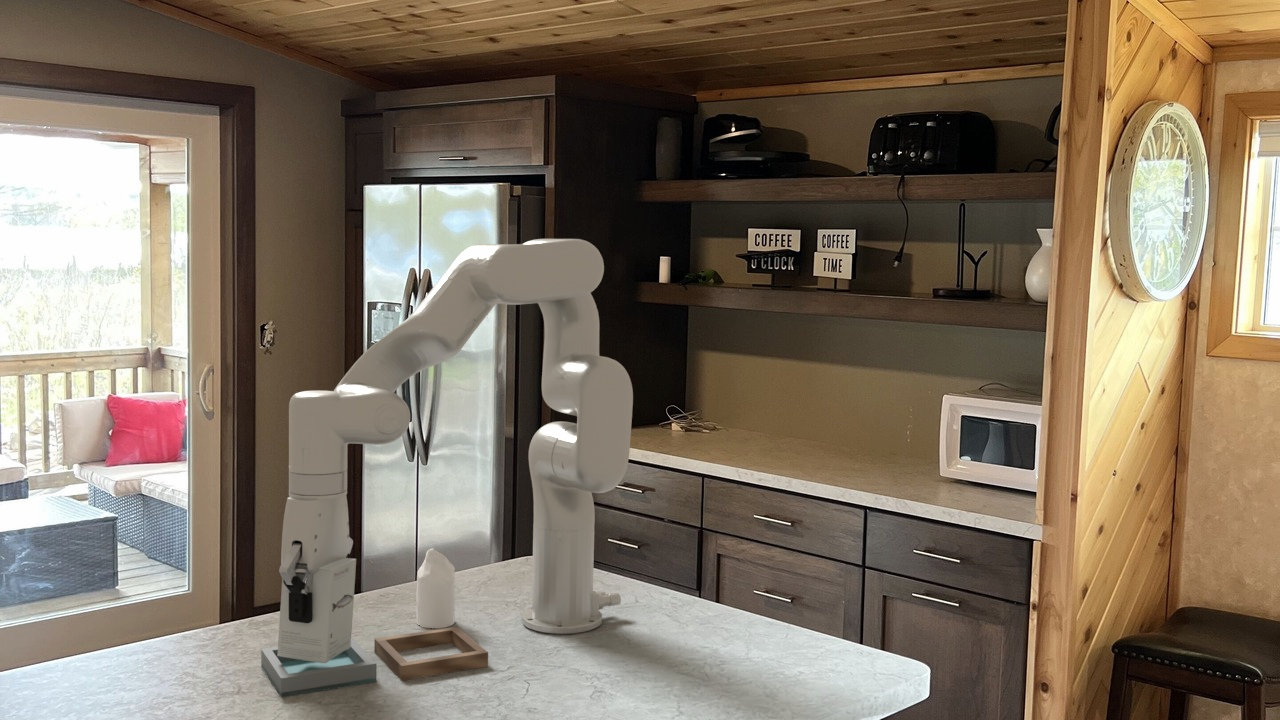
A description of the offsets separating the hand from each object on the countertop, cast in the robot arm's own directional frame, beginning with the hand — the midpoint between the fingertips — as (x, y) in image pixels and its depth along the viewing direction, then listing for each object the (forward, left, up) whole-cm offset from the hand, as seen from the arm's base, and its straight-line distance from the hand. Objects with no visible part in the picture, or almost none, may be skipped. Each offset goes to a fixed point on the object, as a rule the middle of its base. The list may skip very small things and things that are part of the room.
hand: (317, 611), depth 153 cm
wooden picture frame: (-16, +1, -9) cm, 18 cm away
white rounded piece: (-22, -14, -9) cm, 27 cm away
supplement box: (0, 0, -6) cm, 6 cm away
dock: (0, 0, -9) cm, 9 cm away
